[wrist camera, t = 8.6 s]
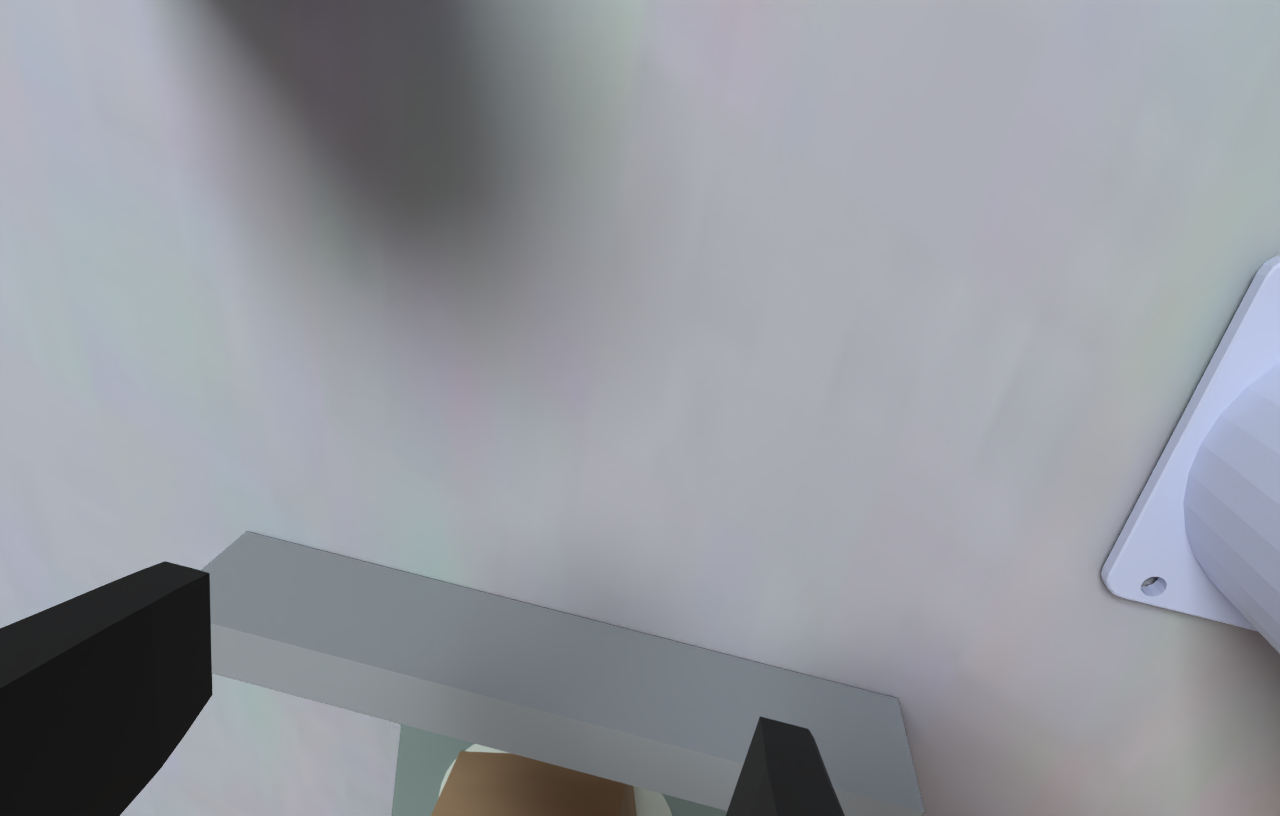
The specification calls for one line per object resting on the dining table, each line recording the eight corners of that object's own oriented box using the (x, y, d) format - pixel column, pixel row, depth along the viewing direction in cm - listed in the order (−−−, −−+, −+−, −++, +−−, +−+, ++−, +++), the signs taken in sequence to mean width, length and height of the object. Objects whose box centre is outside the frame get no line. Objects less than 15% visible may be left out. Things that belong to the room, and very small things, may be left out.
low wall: (897, 698, 20) (924, 811, 17) (879, 740, 21) (902, 857, 18) (246, 531, 21) (155, 608, 18) (246, 576, 22) (158, 659, 19)
